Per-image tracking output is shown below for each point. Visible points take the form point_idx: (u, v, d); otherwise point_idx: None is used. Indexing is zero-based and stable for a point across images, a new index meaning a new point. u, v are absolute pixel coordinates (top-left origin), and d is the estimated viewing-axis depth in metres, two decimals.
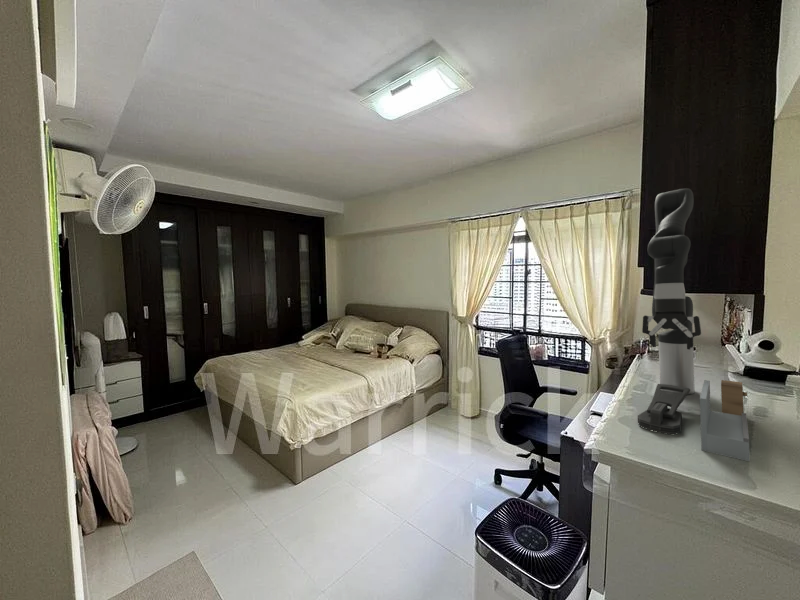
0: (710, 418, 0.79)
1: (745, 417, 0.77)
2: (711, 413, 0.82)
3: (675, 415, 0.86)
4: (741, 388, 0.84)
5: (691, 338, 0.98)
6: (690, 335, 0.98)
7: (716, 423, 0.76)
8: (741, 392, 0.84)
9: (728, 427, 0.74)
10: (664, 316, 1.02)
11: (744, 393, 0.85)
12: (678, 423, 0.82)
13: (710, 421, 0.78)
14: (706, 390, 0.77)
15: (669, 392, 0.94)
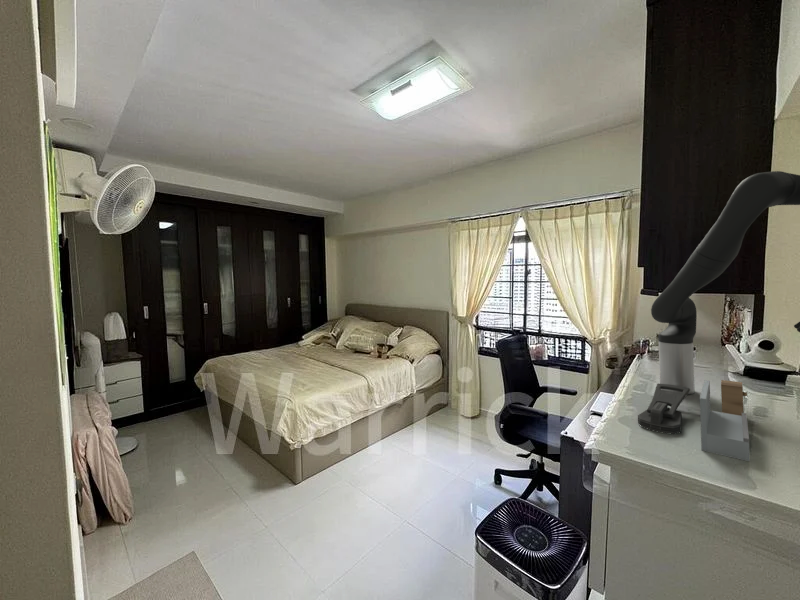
0: (710, 418, 0.79)
1: (745, 417, 0.77)
2: (711, 413, 0.82)
3: (675, 415, 0.87)
4: (741, 388, 0.84)
5: None
6: None
7: (716, 423, 0.76)
8: (741, 392, 0.84)
9: (728, 427, 0.74)
10: None
11: (744, 393, 0.85)
12: (678, 423, 0.82)
13: (710, 421, 0.78)
14: (706, 390, 0.77)
15: (669, 392, 0.95)
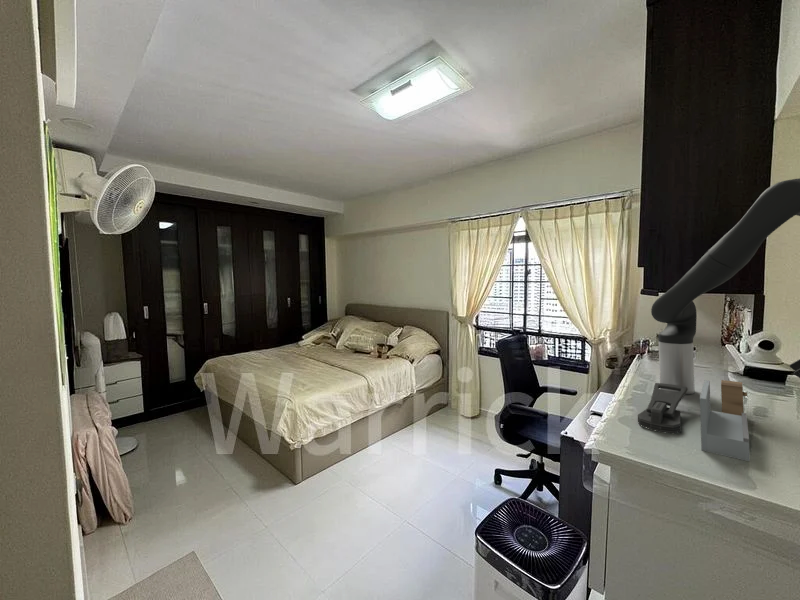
0: (710, 418, 0.79)
1: (745, 417, 0.77)
2: (711, 413, 0.82)
3: (674, 414, 0.87)
4: (741, 388, 0.84)
5: None
6: None
7: (716, 423, 0.76)
8: (741, 392, 0.84)
9: (728, 427, 0.74)
10: None
11: (744, 393, 0.85)
12: (678, 422, 0.82)
13: (710, 421, 0.78)
14: (706, 390, 0.77)
15: (667, 391, 0.95)
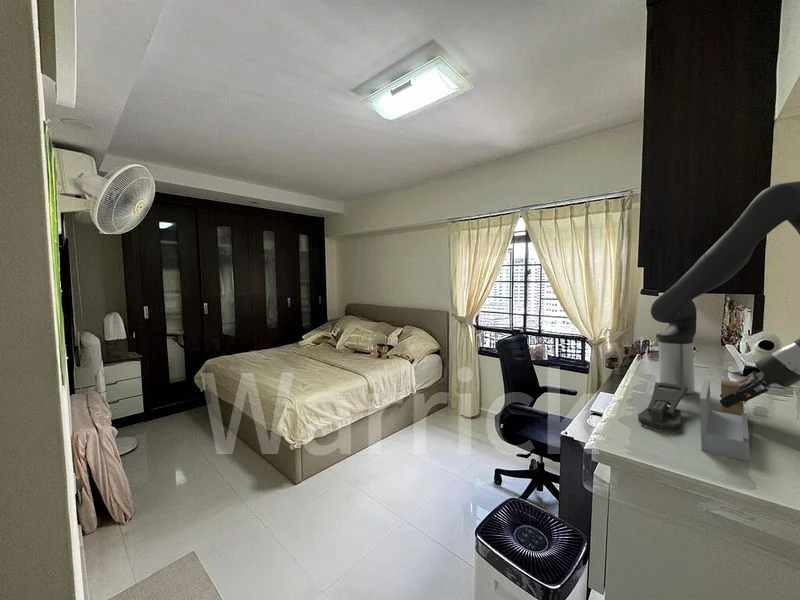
0: (710, 418, 0.79)
1: (745, 417, 0.77)
2: (711, 413, 0.82)
3: (675, 413, 0.88)
4: None
5: None
6: None
7: (716, 423, 0.76)
8: None
9: (728, 427, 0.74)
10: None
11: (744, 393, 0.85)
12: (678, 421, 0.83)
13: (710, 421, 0.78)
14: (706, 390, 0.77)
15: (667, 390, 0.96)
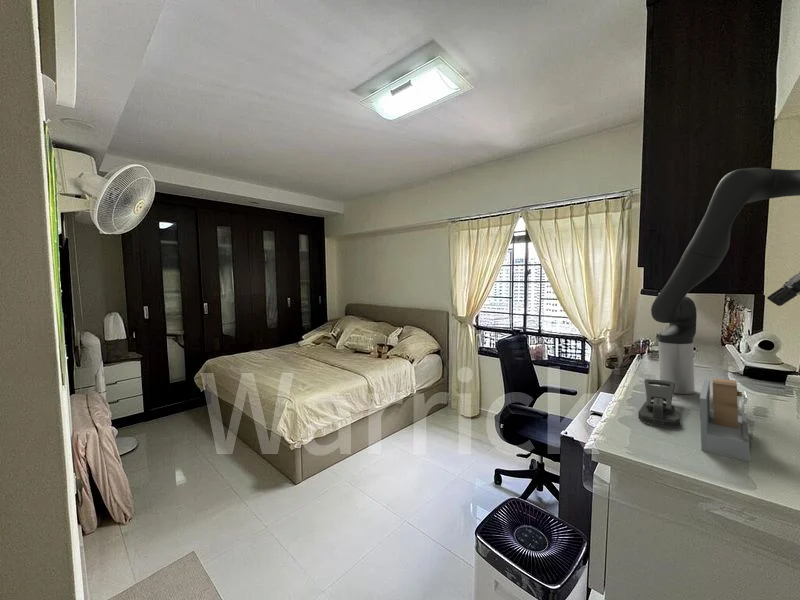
0: (710, 418, 0.79)
1: (745, 417, 0.77)
2: (711, 413, 0.82)
3: (670, 409, 0.91)
4: (735, 387, 0.73)
5: None
6: None
7: None
8: (735, 392, 0.73)
9: (728, 427, 0.74)
10: None
11: (739, 393, 0.74)
12: (678, 417, 0.85)
13: (710, 421, 0.78)
14: (706, 390, 0.77)
15: (658, 387, 0.99)
